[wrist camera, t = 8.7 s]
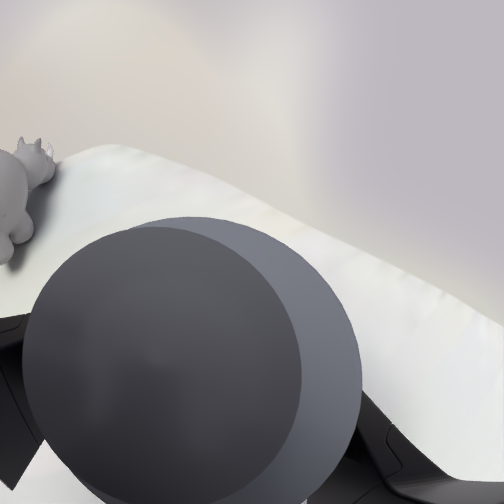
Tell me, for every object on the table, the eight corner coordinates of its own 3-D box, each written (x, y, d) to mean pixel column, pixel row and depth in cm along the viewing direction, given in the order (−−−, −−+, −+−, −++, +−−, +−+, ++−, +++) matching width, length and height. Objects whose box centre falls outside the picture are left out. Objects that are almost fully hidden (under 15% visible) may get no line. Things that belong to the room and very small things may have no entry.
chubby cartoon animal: (84, 198, 24) (76, 115, 19) (3, 282, 15) (-37, 185, 10) (40, 187, 25) (29, 115, 19) (-34, 256, 16) (-66, 174, 10)
